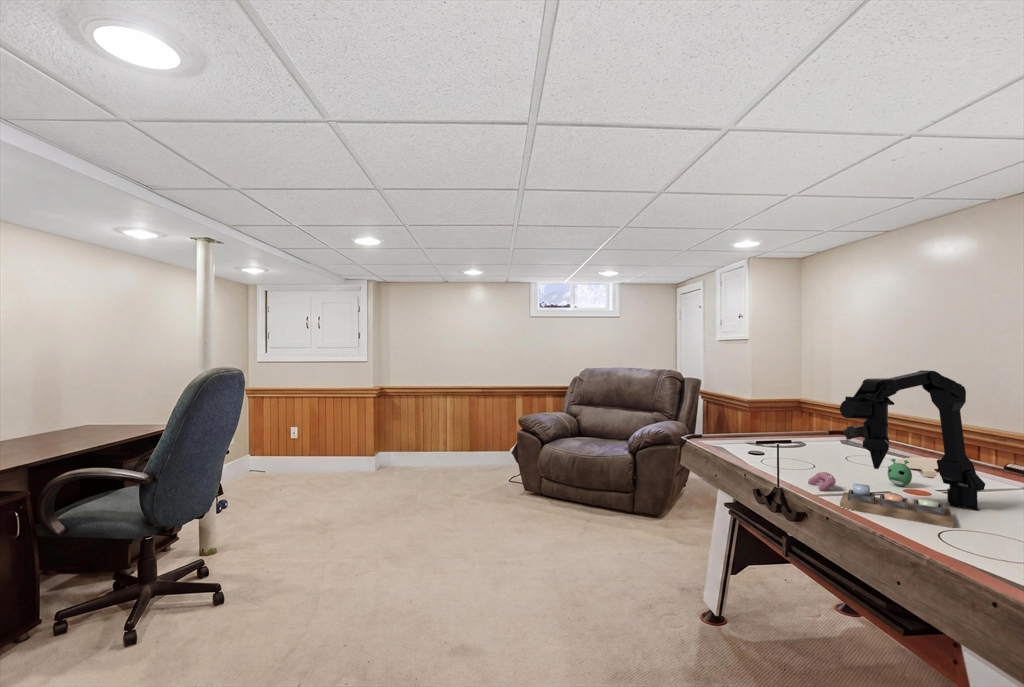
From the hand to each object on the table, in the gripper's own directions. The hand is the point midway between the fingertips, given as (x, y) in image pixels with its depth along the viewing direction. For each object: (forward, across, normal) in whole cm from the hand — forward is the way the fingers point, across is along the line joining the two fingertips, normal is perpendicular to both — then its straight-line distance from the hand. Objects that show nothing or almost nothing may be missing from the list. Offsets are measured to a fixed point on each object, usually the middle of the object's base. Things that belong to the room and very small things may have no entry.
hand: (876, 468), depth 147 cm
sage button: (+10, 0, +12) cm, 16 cm away
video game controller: (+13, -18, -16) cm, 27 cm away
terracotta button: (+11, 0, +4) cm, 11 cm away
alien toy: (+12, -40, +6) cm, 42 cm away
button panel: (+12, 0, +4) cm, 13 cm away
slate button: (+9, -1, -4) cm, 10 cm away
